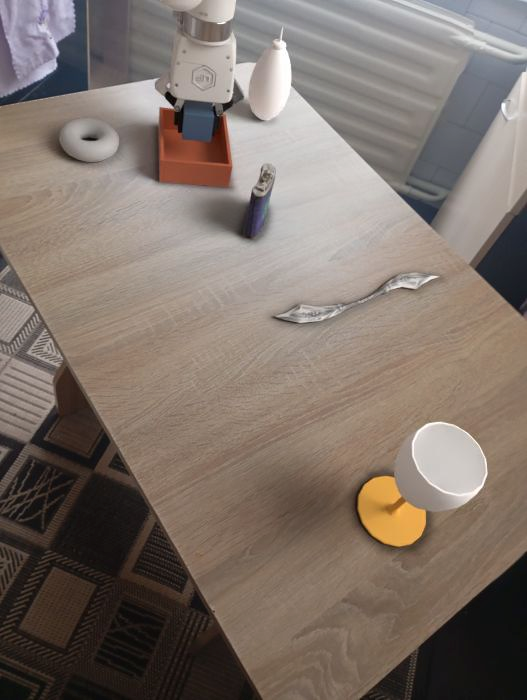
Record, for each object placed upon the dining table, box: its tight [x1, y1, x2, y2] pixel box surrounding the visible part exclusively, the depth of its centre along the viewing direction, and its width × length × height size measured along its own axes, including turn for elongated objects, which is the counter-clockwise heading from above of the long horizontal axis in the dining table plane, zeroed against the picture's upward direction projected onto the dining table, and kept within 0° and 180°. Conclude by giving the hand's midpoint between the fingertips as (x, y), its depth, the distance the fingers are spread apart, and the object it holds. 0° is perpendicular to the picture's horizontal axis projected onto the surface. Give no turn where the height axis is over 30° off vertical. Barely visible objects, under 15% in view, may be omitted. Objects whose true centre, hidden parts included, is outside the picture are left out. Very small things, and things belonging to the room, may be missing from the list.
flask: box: [242, 163, 277, 240], centre depth 92 cm, size 9×3×11 cm, turn 166°
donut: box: [58, 117, 120, 163], centre depth 98 cm, size 10×4×10 cm
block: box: [181, 100, 214, 142], centre depth 97 cm, size 5×5×5 cm
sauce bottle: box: [247, 26, 292, 121], centre depth 108 cm, size 8×8×18 cm
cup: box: [356, 421, 488, 548], centre depth 65 cm, size 9×9×16 cm
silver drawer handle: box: [275, 271, 441, 324], centre depth 91 cm, size 32×1×5 cm
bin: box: [157, 106, 233, 188], centre depth 102 cm, size 12×15×4 cm
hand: (195, 129), depth 99 cm, fingers closed on block, 5 cm apart
